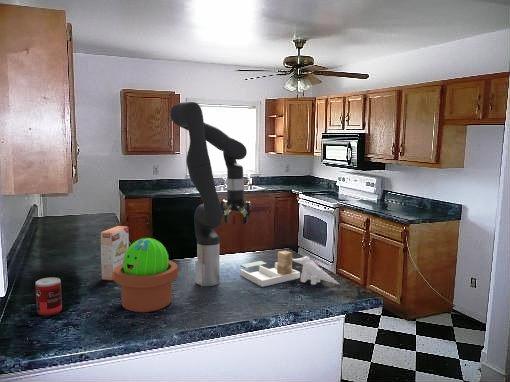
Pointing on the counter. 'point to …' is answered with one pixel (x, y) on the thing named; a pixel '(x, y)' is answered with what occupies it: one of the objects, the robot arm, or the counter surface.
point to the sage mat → (253, 264)
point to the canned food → (48, 296)
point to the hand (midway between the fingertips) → (236, 223)
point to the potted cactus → (146, 276)
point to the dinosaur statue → (312, 271)
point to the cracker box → (113, 249)
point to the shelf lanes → (269, 276)
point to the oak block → (284, 262)
